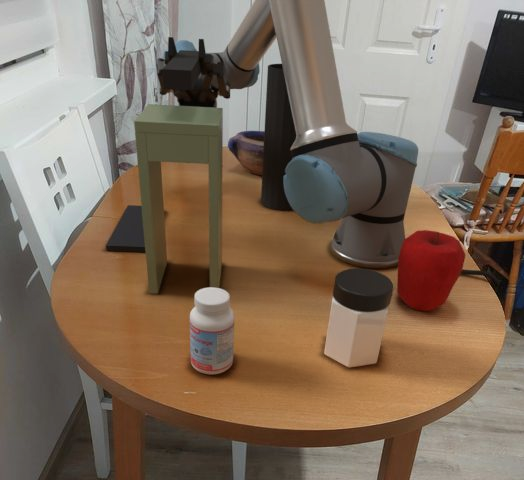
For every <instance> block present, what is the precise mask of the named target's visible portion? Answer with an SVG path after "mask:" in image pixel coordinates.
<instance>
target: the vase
mask: <svg viewBox="0 0 524 480" xmlns="http://www.w3.org/2000/svg"><path fill="white" fill-rule="evenodd" d="M266 75H267V77H266V93H265V95H266V96H265V115H264V130H263V131H264V150H263V170H262V175H261V190H260V203H261V204H262V206H264V207H266V208H268V209H271V210H275V211H292V210H293V209H292V207H291V206H290V204H289V202H288V199H287V197H286V194H285V190H284V175H286V173H285V169H286V167H287V165H288V163H289V162H290V161H291V160H292V155H291V150H290V148H291V147H292V145H293V143H294V141H295V140H296V136H297V135H296V130H295V125H294V120H293V115H292V111H291V106H290V101H289V96H288V91H287V86H286V81H285V76H284V71H283V66H282V63H271V64H268V65H267V73H266ZM293 211H294V210H293Z"/></svg>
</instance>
